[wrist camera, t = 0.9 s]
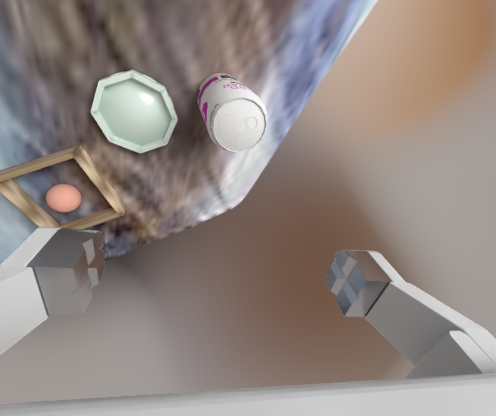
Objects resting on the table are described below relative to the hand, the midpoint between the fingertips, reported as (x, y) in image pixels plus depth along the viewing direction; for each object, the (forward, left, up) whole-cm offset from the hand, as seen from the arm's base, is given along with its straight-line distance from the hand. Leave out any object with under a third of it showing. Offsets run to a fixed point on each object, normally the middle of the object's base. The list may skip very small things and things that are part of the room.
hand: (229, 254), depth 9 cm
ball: (+12, -27, -37) cm, 47 cm away
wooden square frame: (+12, -27, -39) cm, 49 cm away
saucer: (+3, -9, -39) cm, 40 cm away
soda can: (+5, +5, -40) cm, 40 cm away
